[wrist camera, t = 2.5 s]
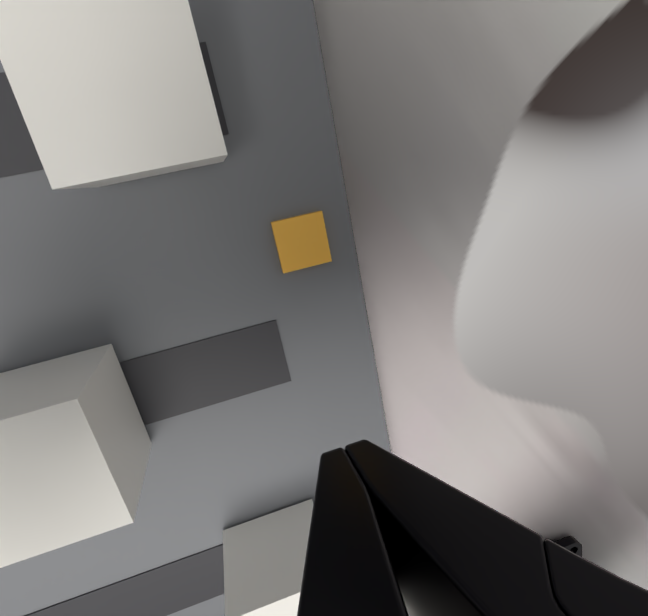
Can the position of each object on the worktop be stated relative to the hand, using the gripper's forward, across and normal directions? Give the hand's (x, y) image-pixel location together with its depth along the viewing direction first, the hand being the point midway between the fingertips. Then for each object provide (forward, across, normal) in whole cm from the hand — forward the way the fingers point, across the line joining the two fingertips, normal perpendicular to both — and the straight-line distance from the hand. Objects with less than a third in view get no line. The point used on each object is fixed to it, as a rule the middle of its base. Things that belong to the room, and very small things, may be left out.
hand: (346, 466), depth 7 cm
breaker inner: (+5, +2, +7) cm, 9 cm away
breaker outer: (+5, +2, -7) cm, 9 cm away
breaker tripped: (+5, +6, 0) cm, 8 cm away
